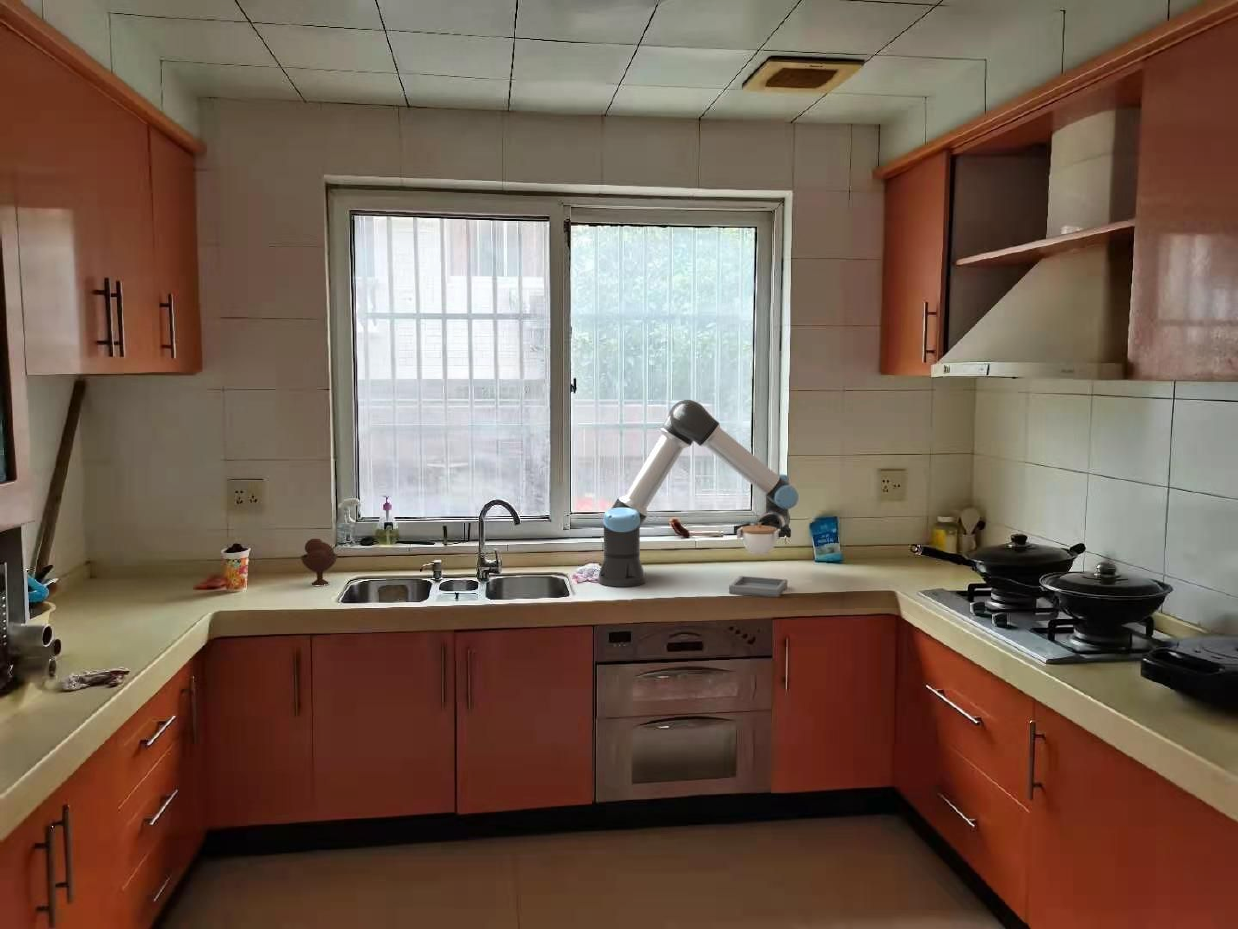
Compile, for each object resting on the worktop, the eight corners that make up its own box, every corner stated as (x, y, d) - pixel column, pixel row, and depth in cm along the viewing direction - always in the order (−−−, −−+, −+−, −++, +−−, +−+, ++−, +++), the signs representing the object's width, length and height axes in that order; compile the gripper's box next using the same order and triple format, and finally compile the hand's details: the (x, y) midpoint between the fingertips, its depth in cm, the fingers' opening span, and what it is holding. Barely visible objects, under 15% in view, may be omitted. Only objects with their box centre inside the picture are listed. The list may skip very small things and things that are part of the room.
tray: (729, 593, 272) (729, 585, 272) (740, 583, 286) (740, 575, 286) (777, 597, 267) (778, 589, 267) (787, 587, 281) (787, 579, 281)
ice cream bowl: (324, 589, 279) (322, 542, 278) (294, 586, 282) (293, 540, 281) (344, 582, 289) (343, 536, 287) (316, 579, 292) (314, 534, 291)
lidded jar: (775, 549, 281) (775, 520, 280) (778, 556, 270) (778, 525, 269) (741, 549, 282) (741, 520, 281) (742, 555, 271) (742, 525, 270)
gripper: (806, 538, 288) (794, 550, 268) (736, 534, 296) (719, 545, 276) (807, 515, 287) (794, 525, 267) (736, 511, 296) (719, 521, 275)
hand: (756, 535), depth 271 cm, fingers closed on lidded jar, 11 cm apart
